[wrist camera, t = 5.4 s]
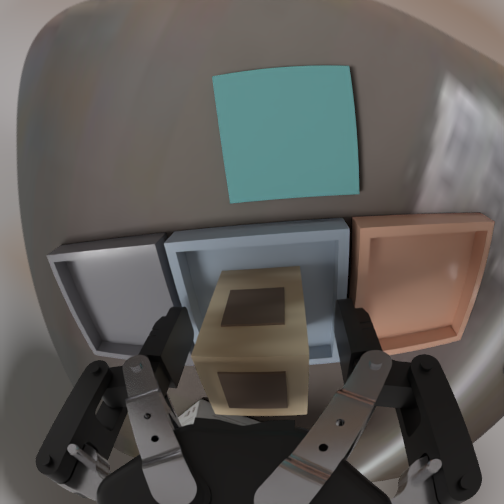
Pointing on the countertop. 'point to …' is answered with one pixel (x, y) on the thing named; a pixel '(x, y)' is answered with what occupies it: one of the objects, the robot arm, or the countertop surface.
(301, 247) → the dish slate
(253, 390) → the letter block
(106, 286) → the dish charcoal
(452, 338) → the dish terracotta
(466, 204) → the countertop surface
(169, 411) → the robot arm
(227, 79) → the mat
